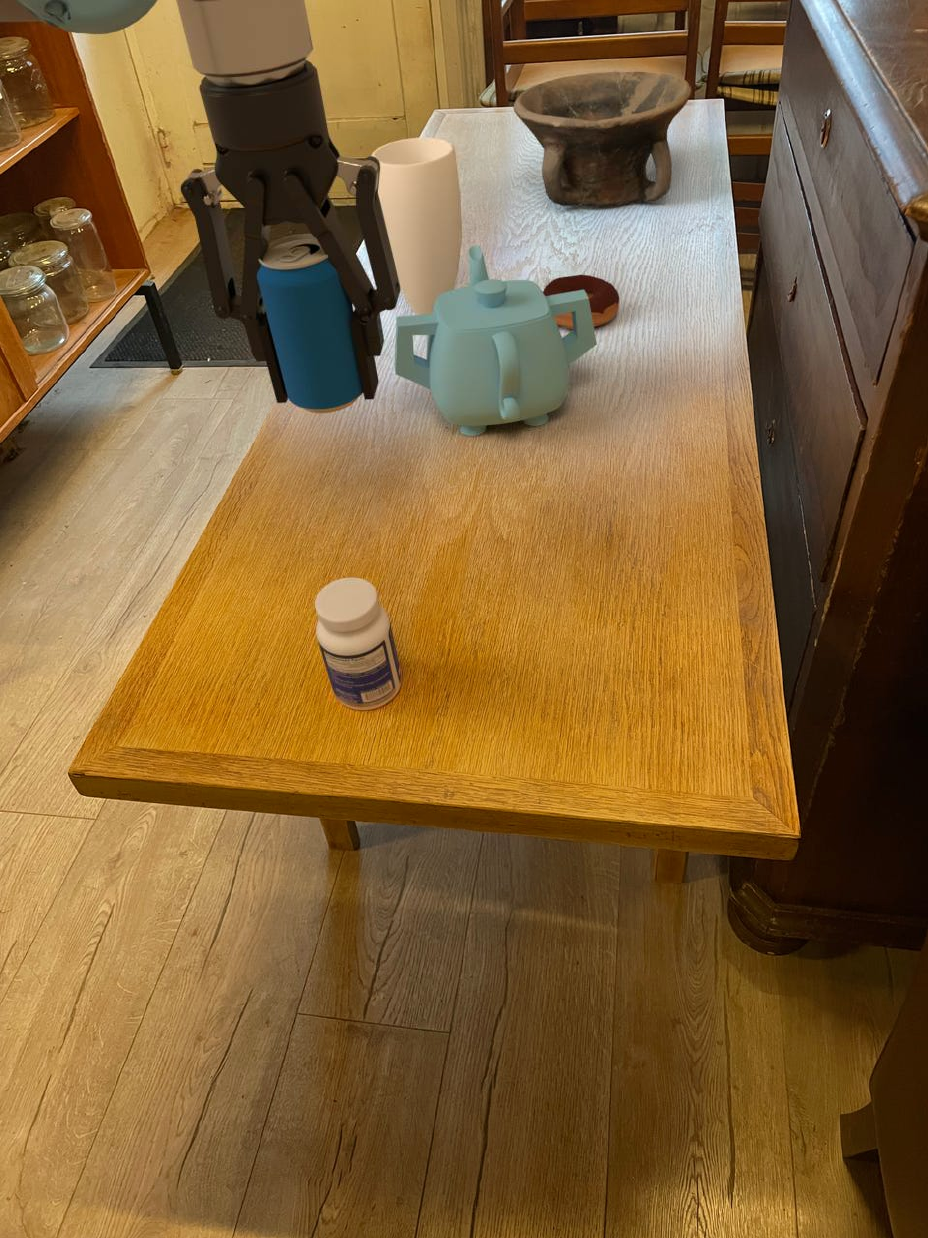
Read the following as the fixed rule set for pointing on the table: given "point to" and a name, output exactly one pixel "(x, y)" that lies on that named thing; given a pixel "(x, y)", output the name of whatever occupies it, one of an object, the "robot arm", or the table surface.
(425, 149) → the cup
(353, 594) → the pill bottle
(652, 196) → the brown clay pot
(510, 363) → the teapot
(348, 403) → the beverage can
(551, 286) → the donut
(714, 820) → the table surface
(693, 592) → the table surface
